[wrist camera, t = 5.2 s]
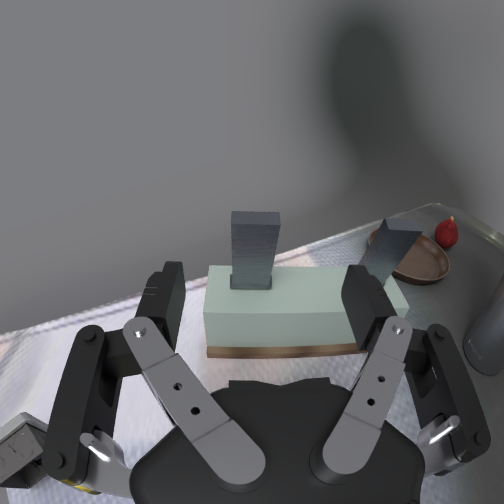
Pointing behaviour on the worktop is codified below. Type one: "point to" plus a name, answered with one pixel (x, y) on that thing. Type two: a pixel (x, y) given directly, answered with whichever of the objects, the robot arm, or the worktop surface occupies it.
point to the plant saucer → (421, 262)
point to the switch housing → (283, 309)
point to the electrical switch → (22, 451)
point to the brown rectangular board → (282, 351)
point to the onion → (446, 233)
